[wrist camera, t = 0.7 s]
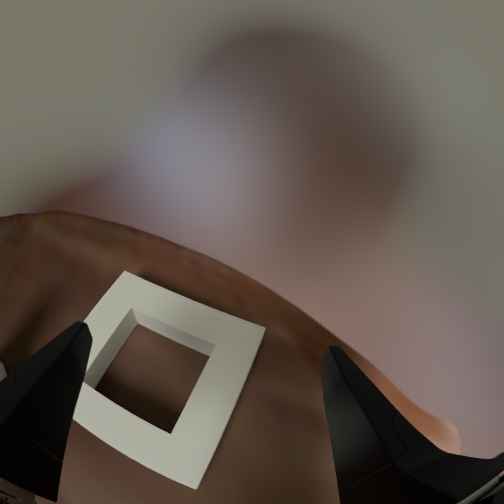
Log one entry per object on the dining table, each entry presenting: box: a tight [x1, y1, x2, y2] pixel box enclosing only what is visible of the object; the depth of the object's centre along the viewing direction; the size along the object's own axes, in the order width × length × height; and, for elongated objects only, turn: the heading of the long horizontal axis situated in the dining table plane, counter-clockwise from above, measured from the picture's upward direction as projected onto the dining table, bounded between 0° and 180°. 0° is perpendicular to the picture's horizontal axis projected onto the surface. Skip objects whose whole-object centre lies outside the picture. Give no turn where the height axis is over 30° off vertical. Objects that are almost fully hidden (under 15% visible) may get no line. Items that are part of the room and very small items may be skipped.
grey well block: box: [73, 271, 266, 490], centre depth 22 cm, size 16×16×3 cm
